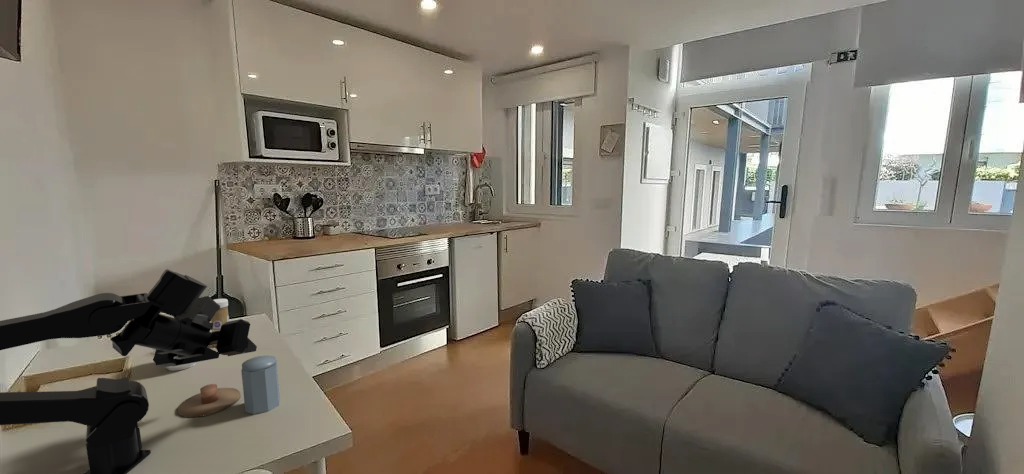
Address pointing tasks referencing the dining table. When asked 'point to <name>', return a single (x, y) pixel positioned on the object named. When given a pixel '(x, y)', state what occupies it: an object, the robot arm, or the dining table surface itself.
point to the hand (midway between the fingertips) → (236, 352)
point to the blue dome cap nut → (260, 384)
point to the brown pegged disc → (209, 401)
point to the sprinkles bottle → (220, 315)
